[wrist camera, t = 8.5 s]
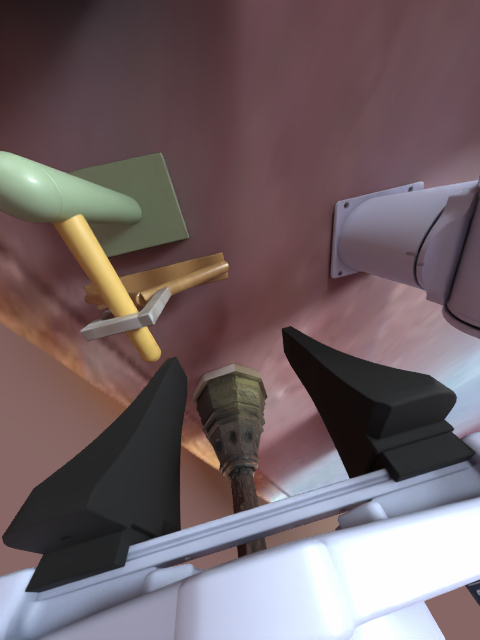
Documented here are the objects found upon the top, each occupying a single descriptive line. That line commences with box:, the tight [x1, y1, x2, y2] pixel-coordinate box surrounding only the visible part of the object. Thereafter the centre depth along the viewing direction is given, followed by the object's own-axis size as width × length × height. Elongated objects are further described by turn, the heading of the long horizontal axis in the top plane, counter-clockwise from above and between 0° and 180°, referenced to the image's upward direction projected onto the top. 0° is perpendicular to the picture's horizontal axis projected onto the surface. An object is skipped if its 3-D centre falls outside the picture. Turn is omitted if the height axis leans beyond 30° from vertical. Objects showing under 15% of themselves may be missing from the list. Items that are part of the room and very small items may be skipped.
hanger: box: [80, 252, 229, 341], centre depth 13 cm, size 14×2×9 cm, turn 102°
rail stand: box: [0, 151, 189, 363], centre depth 12 cm, size 8×13×12 cm, turn 12°
